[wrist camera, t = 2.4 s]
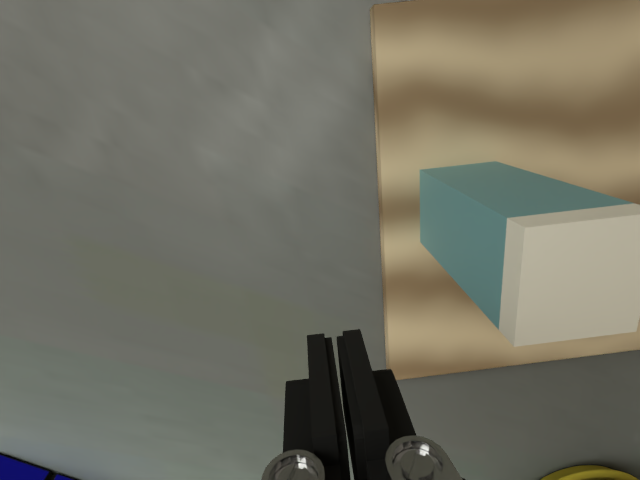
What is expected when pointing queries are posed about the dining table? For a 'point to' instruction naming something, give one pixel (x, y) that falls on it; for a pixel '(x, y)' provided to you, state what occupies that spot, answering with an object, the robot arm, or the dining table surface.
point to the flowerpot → (589, 474)
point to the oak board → (493, 146)
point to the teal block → (534, 250)
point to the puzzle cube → (25, 471)
